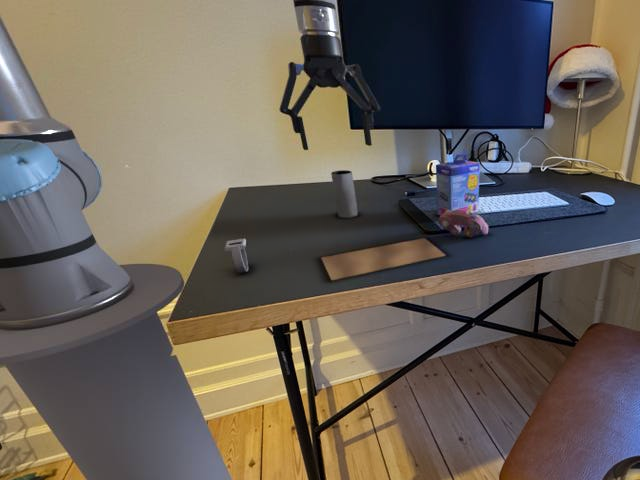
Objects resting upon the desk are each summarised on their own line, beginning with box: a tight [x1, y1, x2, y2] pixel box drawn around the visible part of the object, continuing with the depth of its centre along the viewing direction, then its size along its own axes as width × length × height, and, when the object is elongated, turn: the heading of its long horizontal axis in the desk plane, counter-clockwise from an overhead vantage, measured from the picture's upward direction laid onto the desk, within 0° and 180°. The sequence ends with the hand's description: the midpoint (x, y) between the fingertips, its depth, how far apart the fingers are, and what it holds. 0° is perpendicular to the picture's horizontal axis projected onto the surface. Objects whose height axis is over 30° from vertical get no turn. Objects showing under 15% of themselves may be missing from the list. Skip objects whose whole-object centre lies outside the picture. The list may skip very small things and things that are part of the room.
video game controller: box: [438, 210, 489, 238], centre depth 76 cm, size 10×5×7 cm
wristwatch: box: [224, 238, 249, 274], centre depth 60 cm, size 6×3×5 cm, turn 28°
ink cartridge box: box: [435, 152, 481, 217], centre depth 88 cm, size 10×6×14 cm, turn 137°
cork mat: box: [320, 237, 447, 282], centre depth 67 cm, size 20×10×1 cm, turn 120°
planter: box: [330, 169, 359, 219], centre depth 87 cm, size 4×4×10 cm
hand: (338, 147), depth 82 cm, fingers open, 13 cm apart
